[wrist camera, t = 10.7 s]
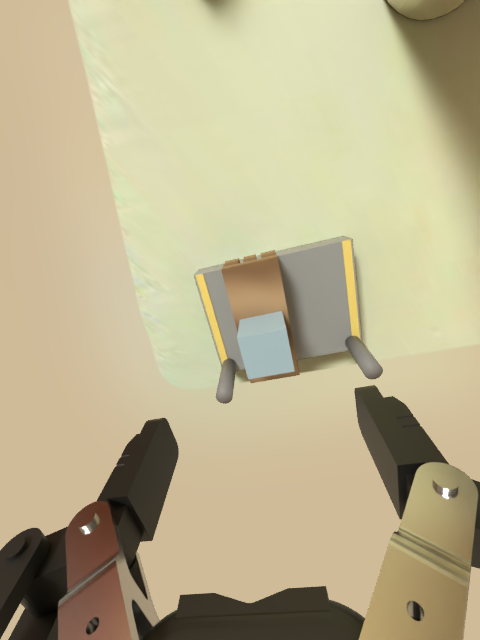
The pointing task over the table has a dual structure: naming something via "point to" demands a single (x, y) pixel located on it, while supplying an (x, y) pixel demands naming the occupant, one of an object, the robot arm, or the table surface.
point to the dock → (296, 308)
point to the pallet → (258, 295)
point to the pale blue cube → (265, 345)
